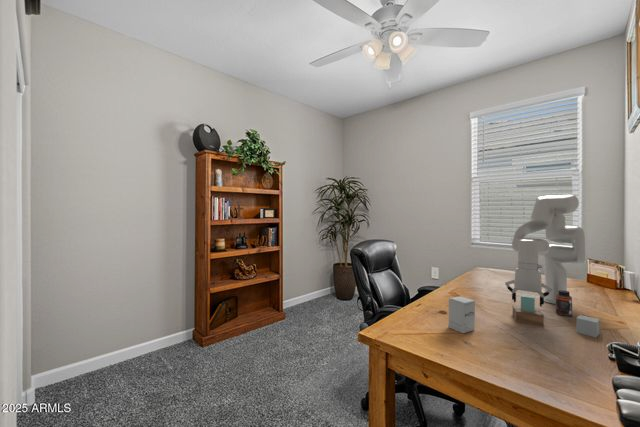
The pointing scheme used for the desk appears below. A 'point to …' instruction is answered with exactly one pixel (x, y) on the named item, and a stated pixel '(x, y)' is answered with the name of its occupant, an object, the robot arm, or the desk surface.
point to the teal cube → (528, 303)
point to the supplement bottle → (564, 303)
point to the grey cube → (587, 325)
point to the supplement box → (461, 314)
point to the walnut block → (528, 316)
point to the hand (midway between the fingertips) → (527, 303)
